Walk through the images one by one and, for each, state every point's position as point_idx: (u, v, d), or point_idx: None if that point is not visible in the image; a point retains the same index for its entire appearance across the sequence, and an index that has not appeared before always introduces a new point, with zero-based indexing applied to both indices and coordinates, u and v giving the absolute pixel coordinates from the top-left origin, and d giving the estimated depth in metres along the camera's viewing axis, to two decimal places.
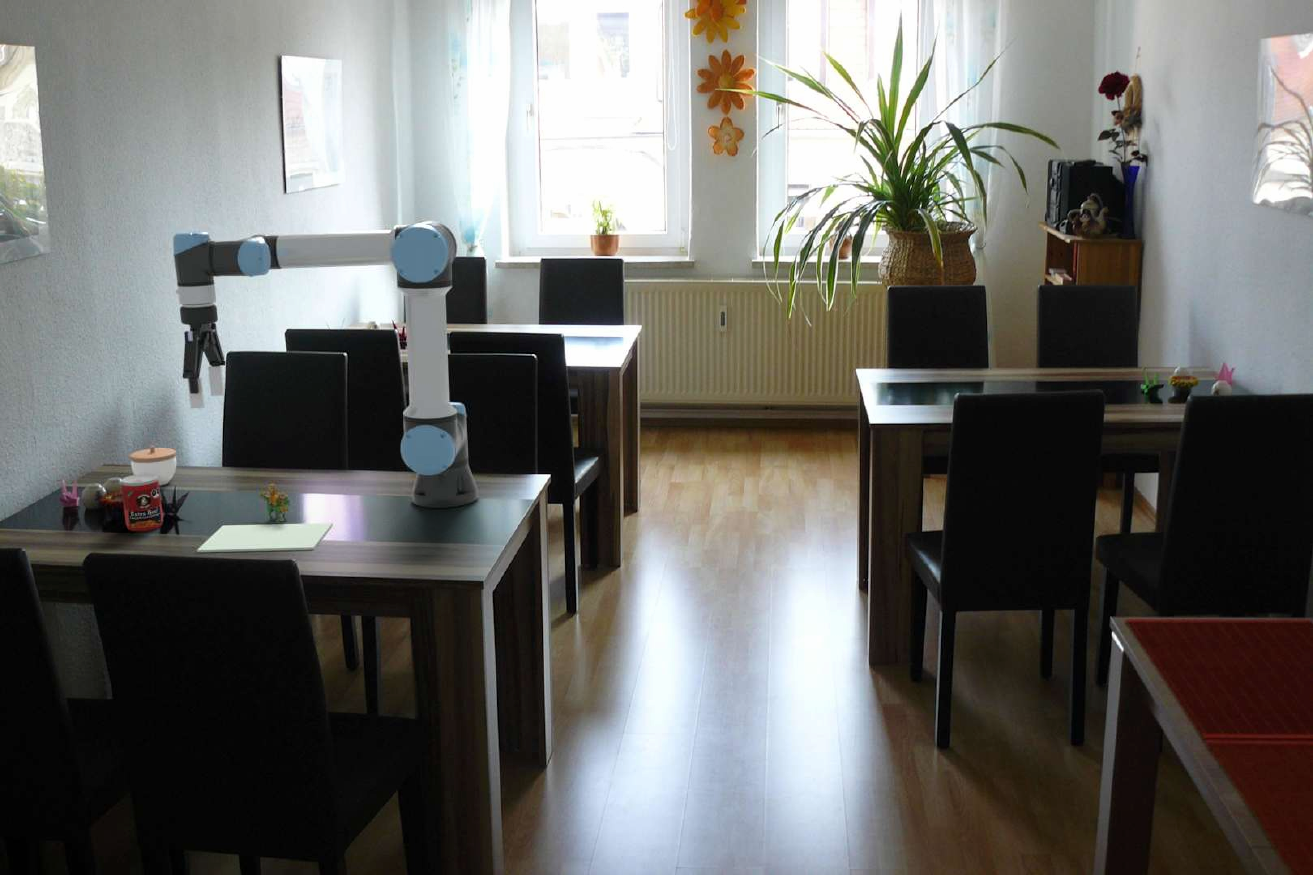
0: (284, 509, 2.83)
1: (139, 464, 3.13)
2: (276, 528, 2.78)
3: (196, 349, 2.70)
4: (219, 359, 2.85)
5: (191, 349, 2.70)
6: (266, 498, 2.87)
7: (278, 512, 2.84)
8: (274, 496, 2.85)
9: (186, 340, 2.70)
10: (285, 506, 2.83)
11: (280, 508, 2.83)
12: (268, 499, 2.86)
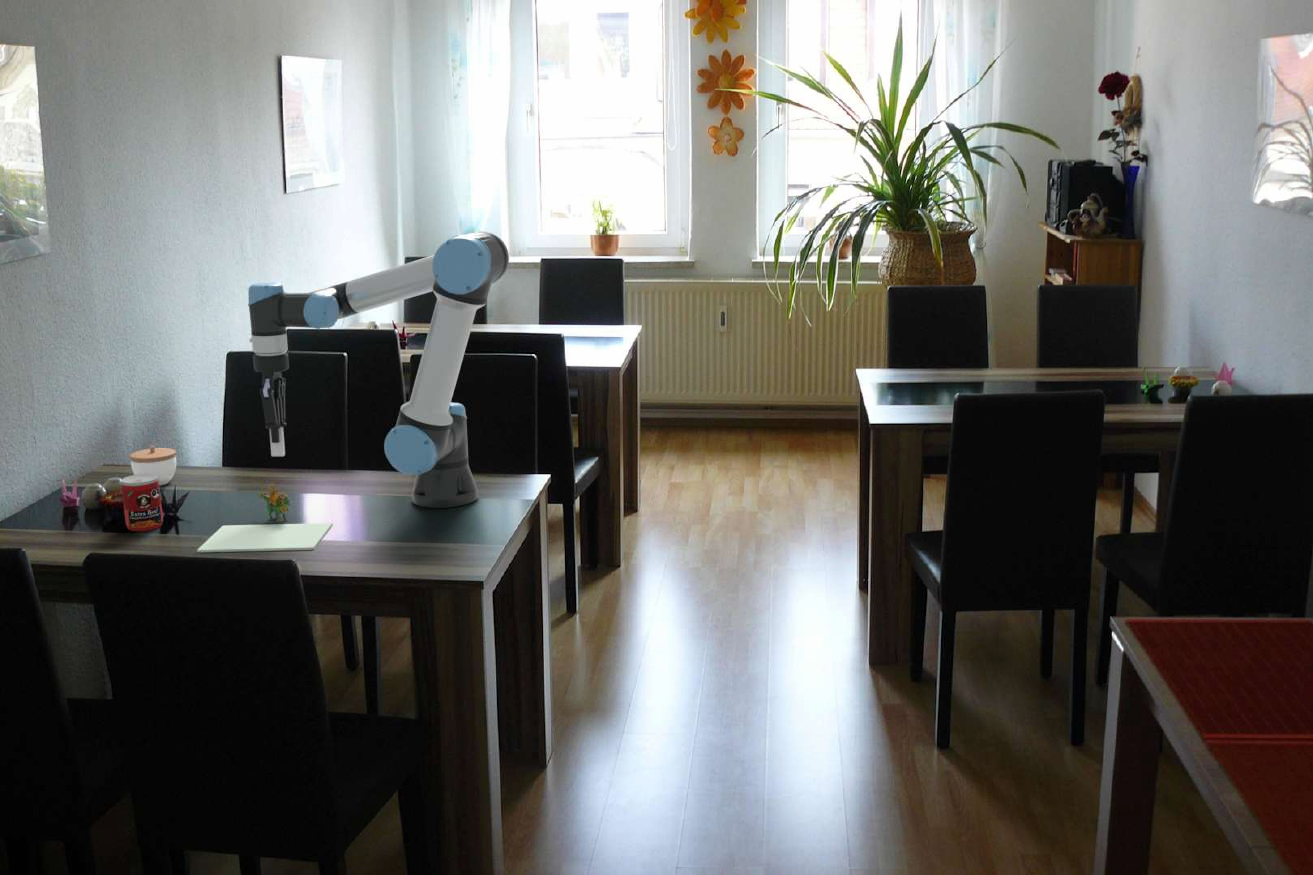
0: (284, 509, 2.83)
1: (139, 464, 3.13)
2: (276, 528, 2.78)
3: (273, 404, 2.84)
4: (282, 418, 2.90)
5: (269, 404, 2.83)
6: (266, 498, 2.87)
7: (278, 512, 2.84)
8: (274, 496, 2.85)
9: (262, 397, 2.82)
10: (285, 506, 2.83)
11: (280, 508, 2.83)
12: (268, 499, 2.86)
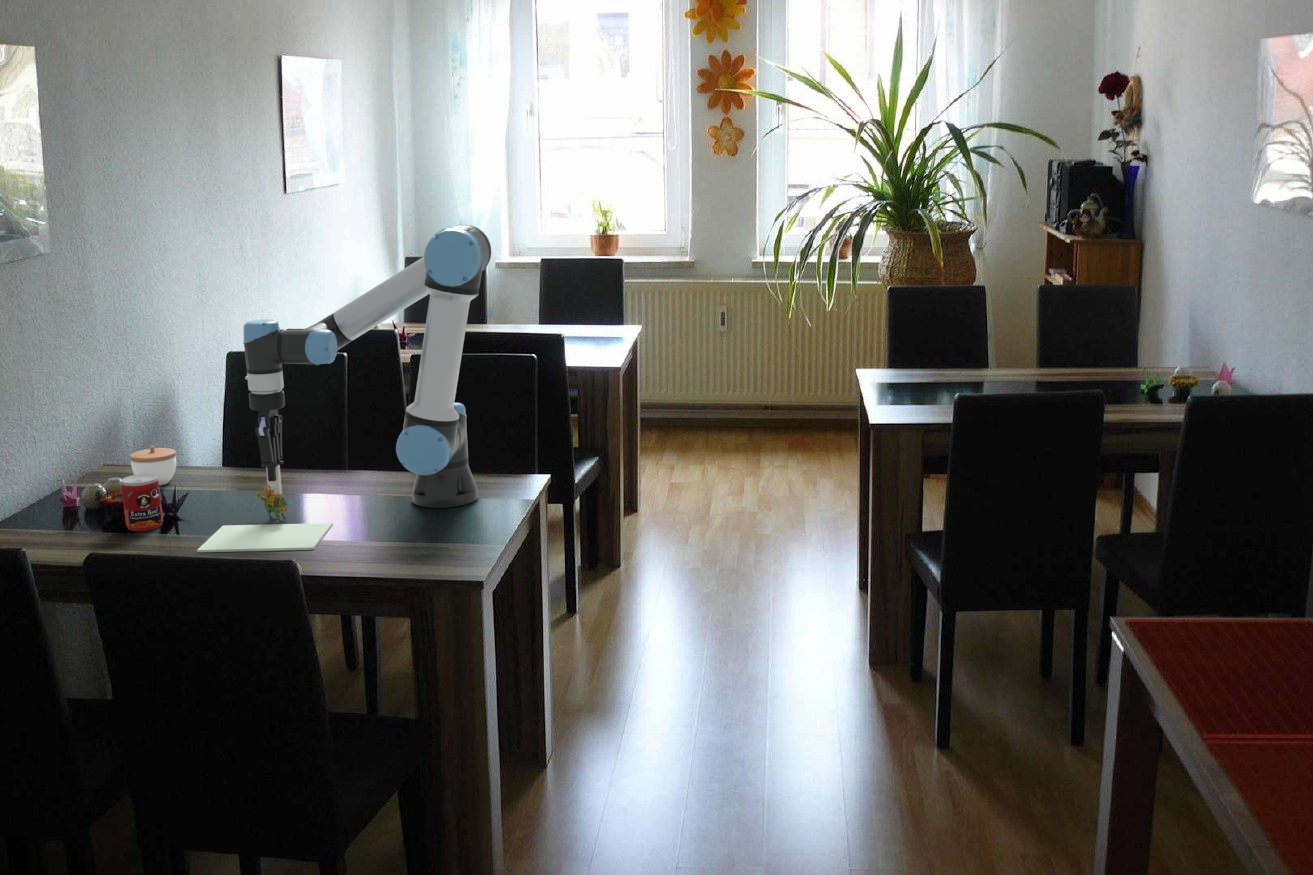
0: (282, 509, 2.83)
1: (139, 464, 3.13)
2: (276, 528, 2.78)
3: (269, 442, 2.80)
4: (278, 455, 2.87)
5: (265, 443, 2.80)
6: (263, 498, 2.86)
7: (277, 512, 2.84)
8: (271, 497, 2.84)
9: (258, 435, 2.79)
10: (283, 506, 2.83)
11: (278, 509, 2.83)
12: (265, 499, 2.85)
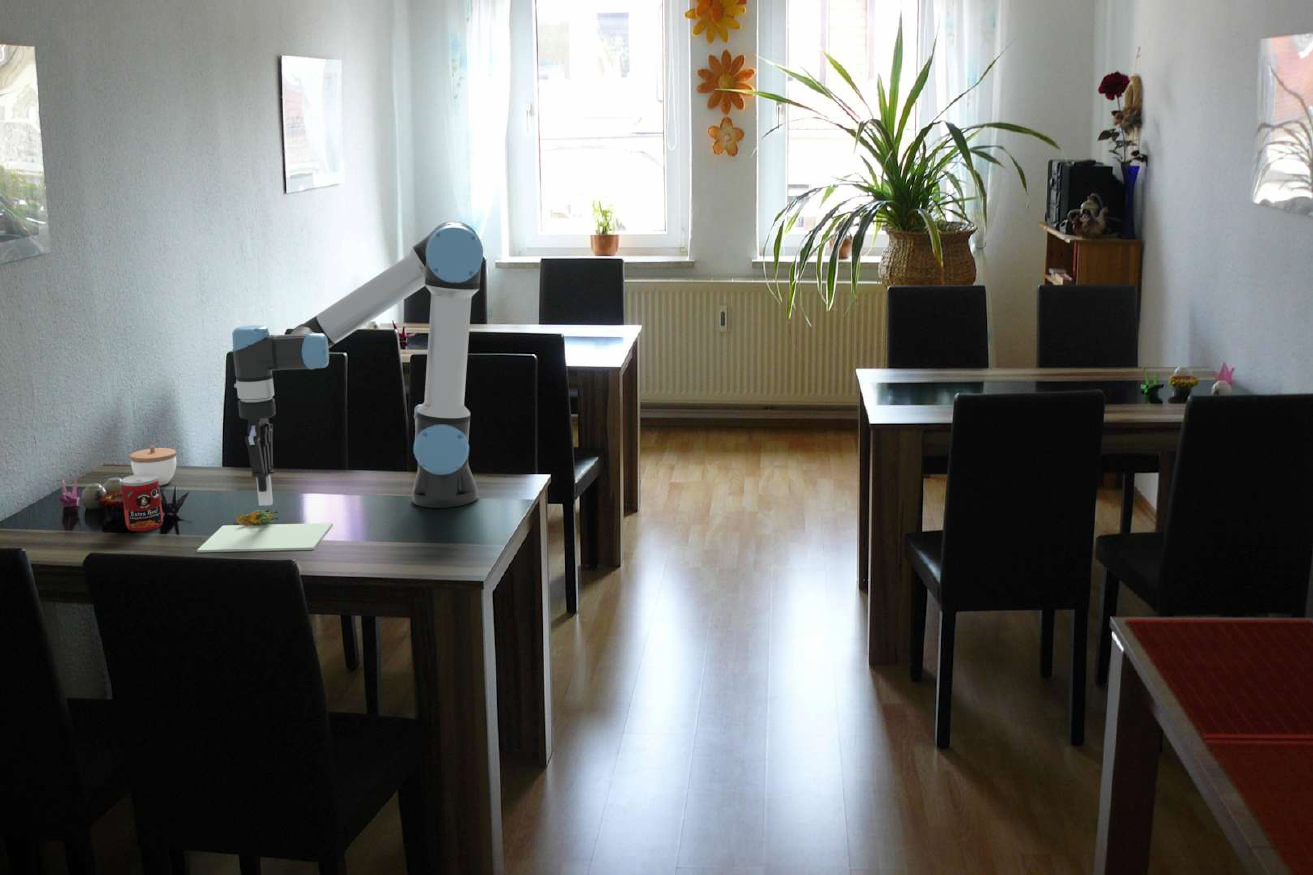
0: (270, 519, 2.81)
1: (139, 464, 3.13)
2: (276, 528, 2.78)
3: (260, 452, 2.72)
4: (269, 465, 2.79)
5: (255, 452, 2.72)
6: None
7: (269, 521, 2.82)
8: (251, 521, 2.81)
9: (248, 445, 2.71)
10: None
11: (267, 521, 2.81)
12: None
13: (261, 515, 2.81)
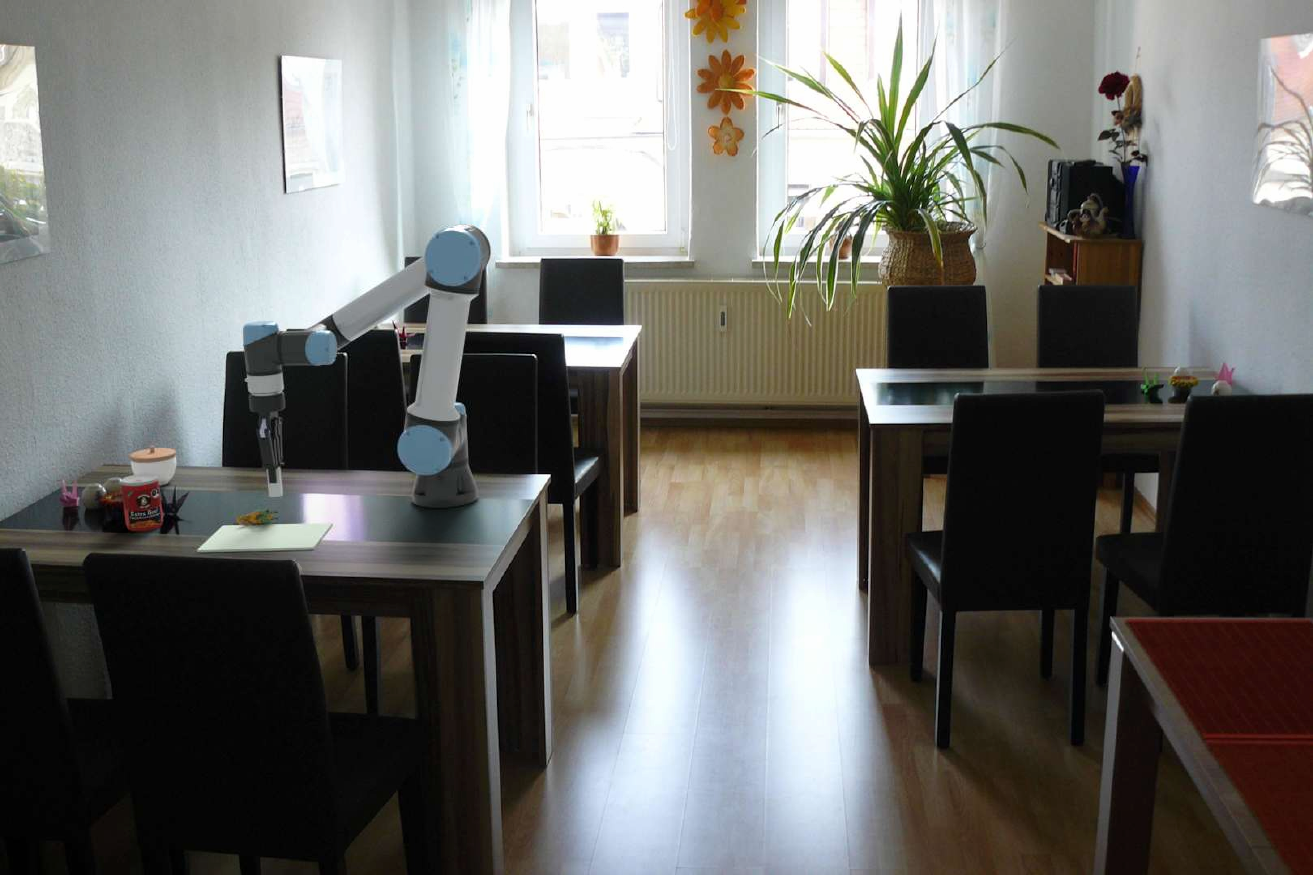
0: (270, 519, 2.81)
1: (139, 464, 3.13)
2: (276, 528, 2.78)
3: (270, 444, 2.80)
4: (279, 457, 2.86)
5: (266, 445, 2.79)
6: None
7: (269, 521, 2.82)
8: (251, 521, 2.81)
9: (259, 437, 2.78)
10: None
11: (267, 521, 2.81)
12: None
13: (261, 515, 2.81)
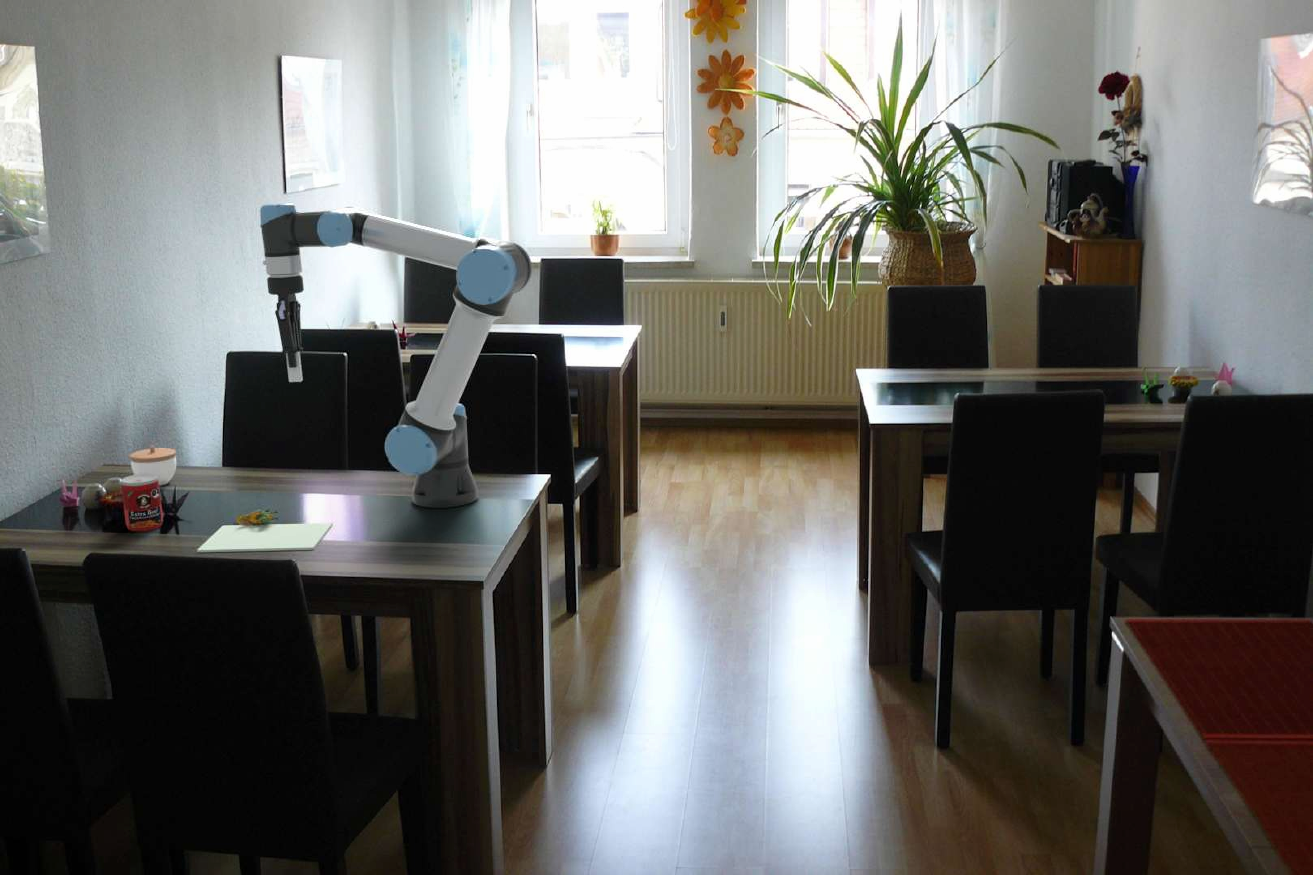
0: (270, 519, 2.81)
1: (139, 464, 3.13)
2: (276, 528, 2.78)
3: (290, 326, 2.78)
4: (298, 342, 2.85)
5: (285, 327, 2.78)
6: None
7: (269, 521, 2.82)
8: (251, 521, 2.81)
9: (278, 319, 2.77)
10: None
11: (267, 521, 2.81)
12: None
13: (261, 515, 2.81)
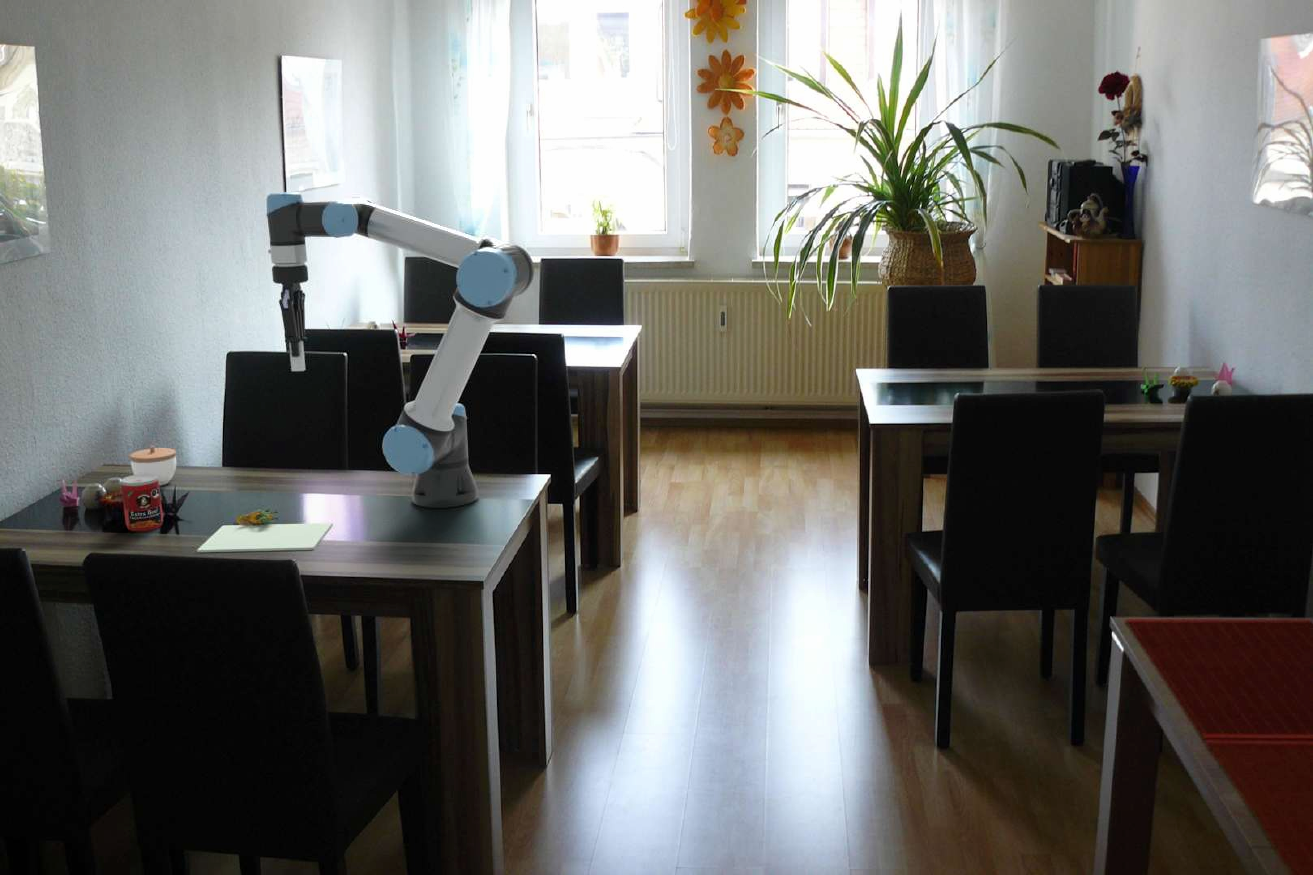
0: (270, 519, 2.81)
1: (139, 464, 3.13)
2: (276, 528, 2.78)
3: (293, 316, 2.79)
4: (302, 332, 2.85)
5: (289, 316, 2.79)
6: None
7: (269, 521, 2.82)
8: (251, 521, 2.81)
9: (282, 308, 2.77)
10: None
11: (267, 521, 2.81)
12: None
13: (261, 515, 2.81)
